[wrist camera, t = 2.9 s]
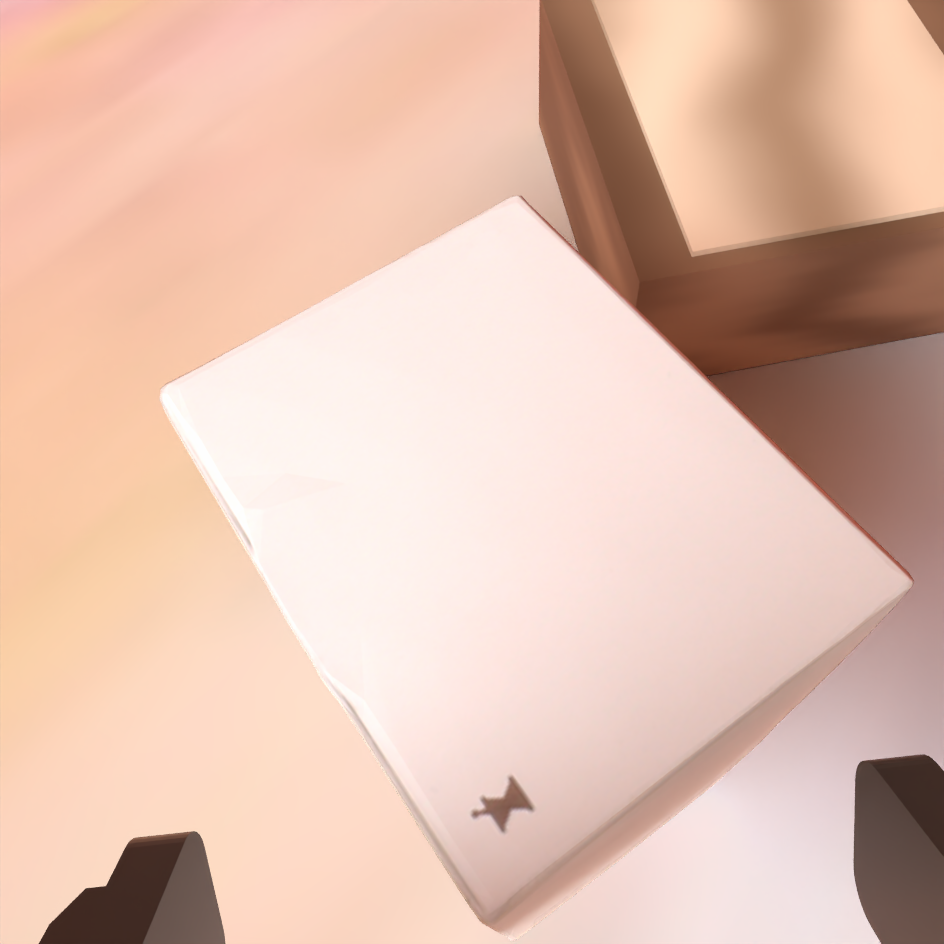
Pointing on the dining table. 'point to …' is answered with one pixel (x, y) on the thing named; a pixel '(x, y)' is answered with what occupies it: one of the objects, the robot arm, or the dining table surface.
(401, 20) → the dining table surface
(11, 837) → the dining table surface
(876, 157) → the plinth
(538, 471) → the small box
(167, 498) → the dining table surface
